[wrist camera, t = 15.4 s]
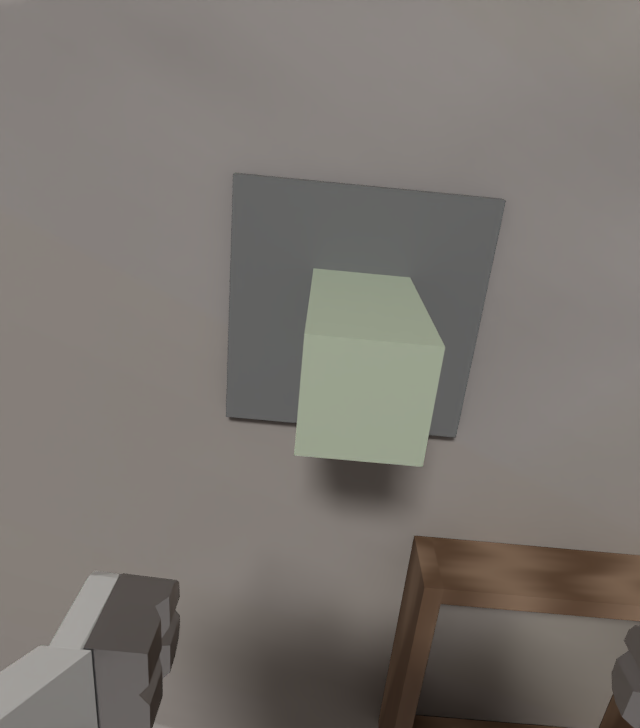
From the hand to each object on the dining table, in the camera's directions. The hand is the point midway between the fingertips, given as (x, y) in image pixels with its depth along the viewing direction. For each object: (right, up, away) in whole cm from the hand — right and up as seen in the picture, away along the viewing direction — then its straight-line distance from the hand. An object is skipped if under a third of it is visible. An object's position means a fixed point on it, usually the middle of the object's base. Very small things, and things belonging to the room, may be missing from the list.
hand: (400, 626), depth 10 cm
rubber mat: (0, +7, +17) cm, 19 cm away
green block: (0, +7, +17) cm, 18 cm away
